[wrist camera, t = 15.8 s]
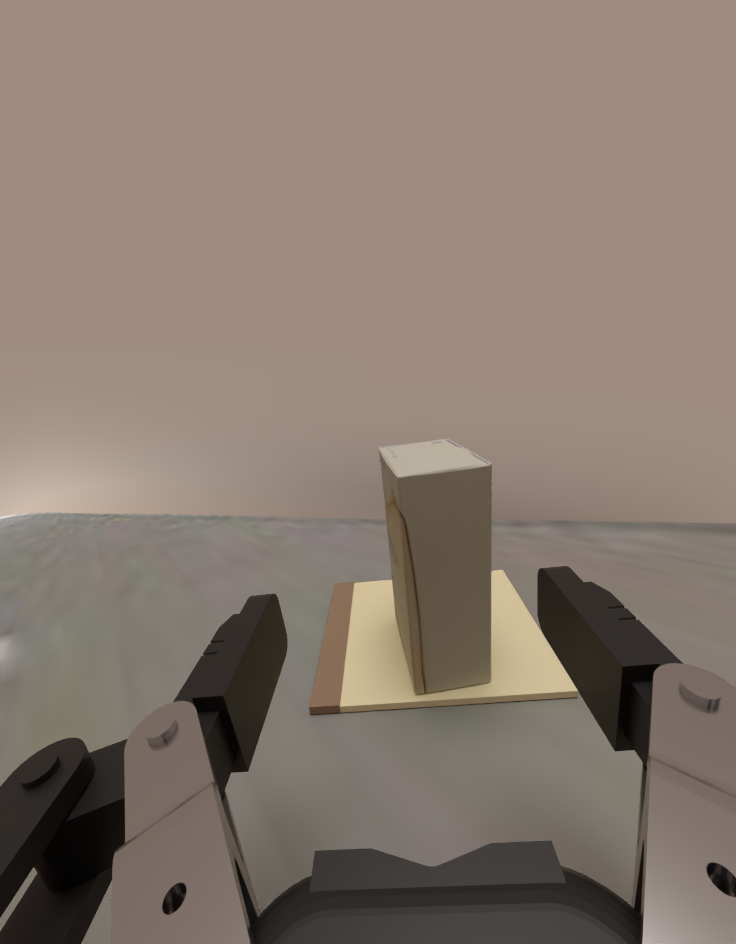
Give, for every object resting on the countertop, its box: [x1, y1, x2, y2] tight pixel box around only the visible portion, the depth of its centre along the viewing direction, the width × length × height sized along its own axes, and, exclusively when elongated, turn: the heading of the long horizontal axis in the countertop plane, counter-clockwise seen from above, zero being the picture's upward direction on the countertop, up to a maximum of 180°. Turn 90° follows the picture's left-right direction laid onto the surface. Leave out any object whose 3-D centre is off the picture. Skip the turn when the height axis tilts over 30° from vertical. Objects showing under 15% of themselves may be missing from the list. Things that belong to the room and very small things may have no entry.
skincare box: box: [379, 438, 492, 694], centre depth 19 cm, size 6×4×12 cm
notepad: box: [309, 570, 578, 715], centre depth 23 cm, size 14×11×1 cm
